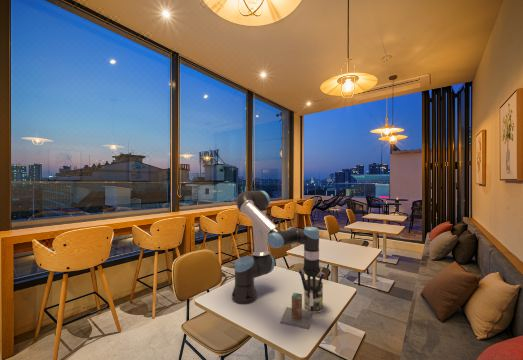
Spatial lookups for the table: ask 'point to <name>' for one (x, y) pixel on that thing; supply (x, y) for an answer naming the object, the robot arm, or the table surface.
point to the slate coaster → (296, 322)
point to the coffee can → (317, 301)
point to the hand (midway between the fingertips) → (311, 304)
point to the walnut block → (296, 306)
